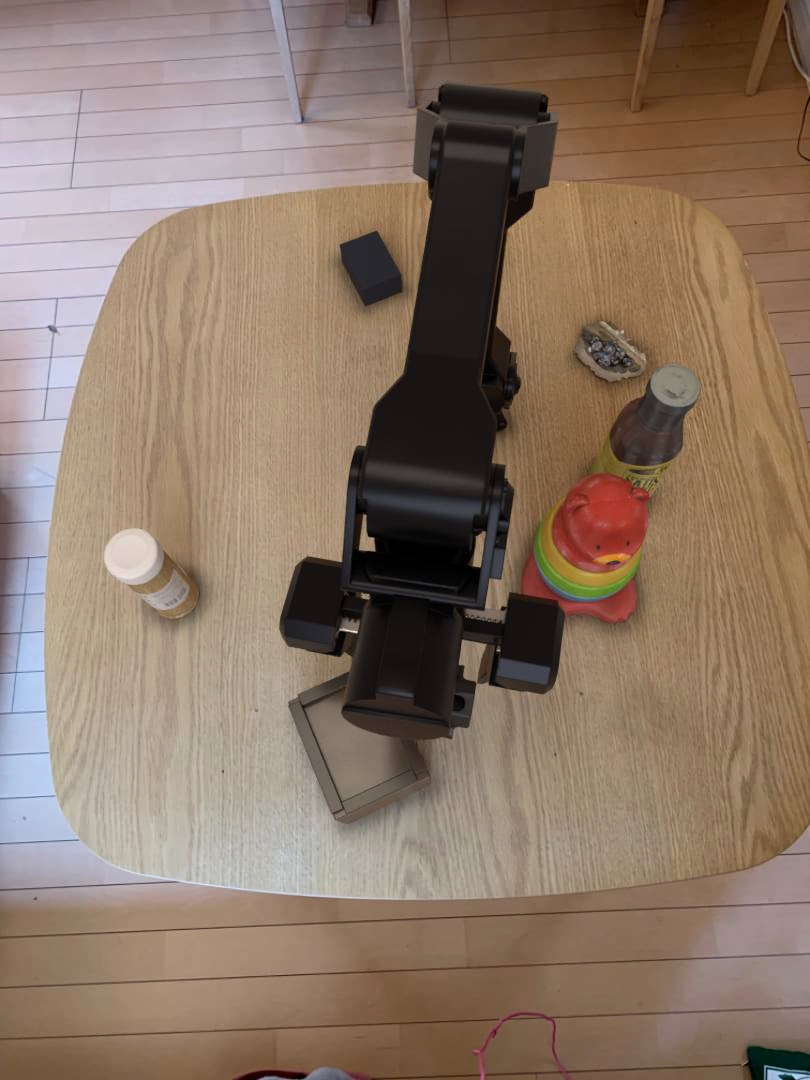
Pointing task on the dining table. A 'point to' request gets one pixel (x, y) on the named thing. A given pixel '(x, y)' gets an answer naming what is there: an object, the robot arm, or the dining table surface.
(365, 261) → the dark blue rectangular block
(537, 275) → the dining table surface
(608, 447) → the sauce bottle
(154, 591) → the sprinkles bottle
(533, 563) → the stacking bear
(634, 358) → the mineral rock specimen
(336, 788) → the backing frame
